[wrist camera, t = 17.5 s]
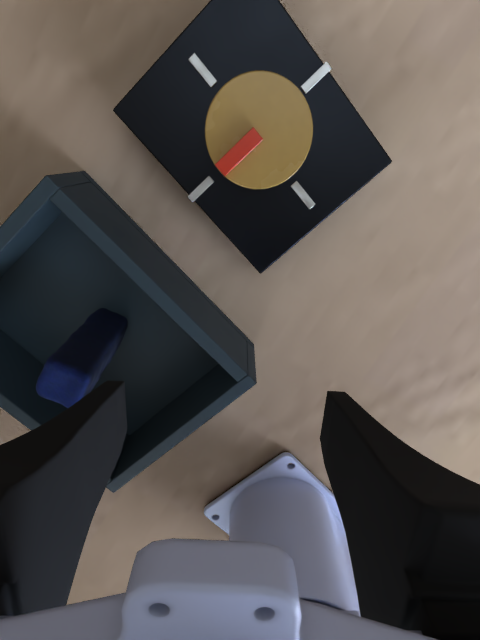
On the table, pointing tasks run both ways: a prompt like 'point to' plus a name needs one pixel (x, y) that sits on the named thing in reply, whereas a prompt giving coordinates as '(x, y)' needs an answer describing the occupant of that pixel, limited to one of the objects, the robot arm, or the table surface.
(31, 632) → the robot arm
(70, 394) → the eraser
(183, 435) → the dark teal open box
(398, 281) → the table surface
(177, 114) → the block
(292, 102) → the tap knob
